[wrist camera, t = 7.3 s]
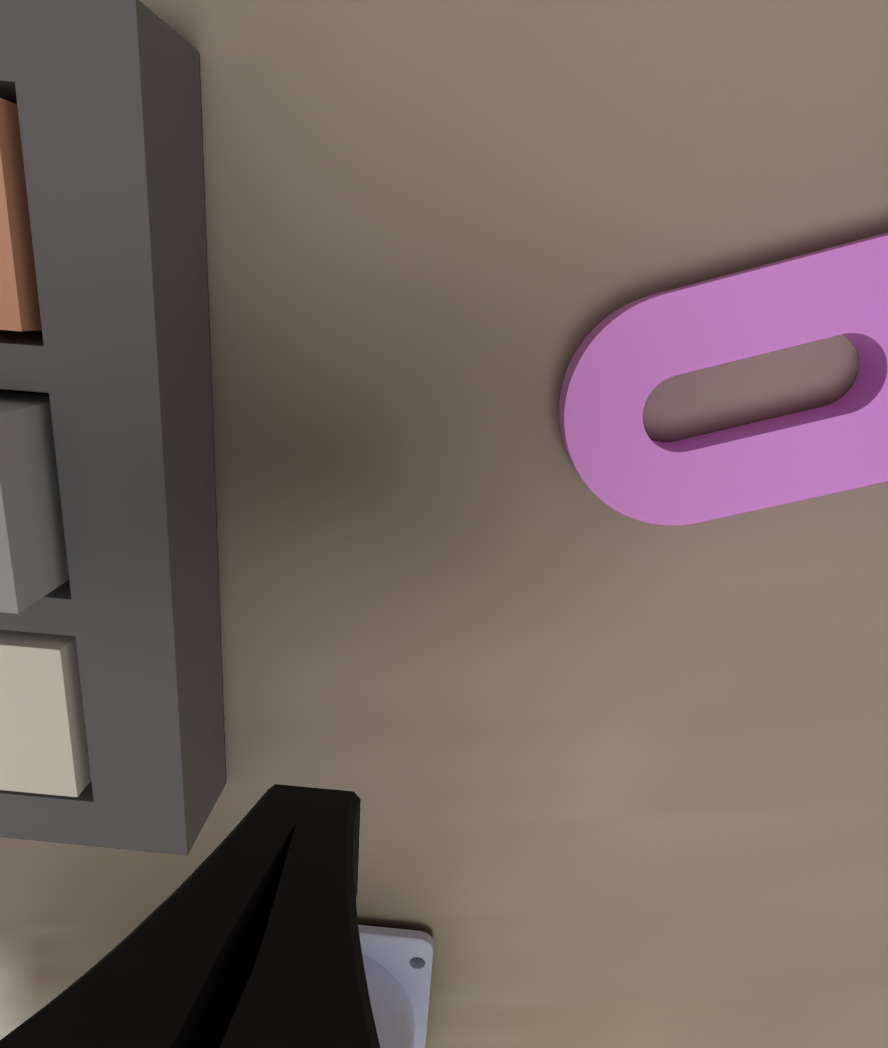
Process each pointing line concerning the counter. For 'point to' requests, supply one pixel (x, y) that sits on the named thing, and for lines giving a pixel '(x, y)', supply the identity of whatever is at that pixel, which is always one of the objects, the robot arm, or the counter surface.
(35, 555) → the grey key
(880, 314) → the bracket
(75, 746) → the cream key
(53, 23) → the grey slotted base
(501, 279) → the counter surface
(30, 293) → the terracotta key
